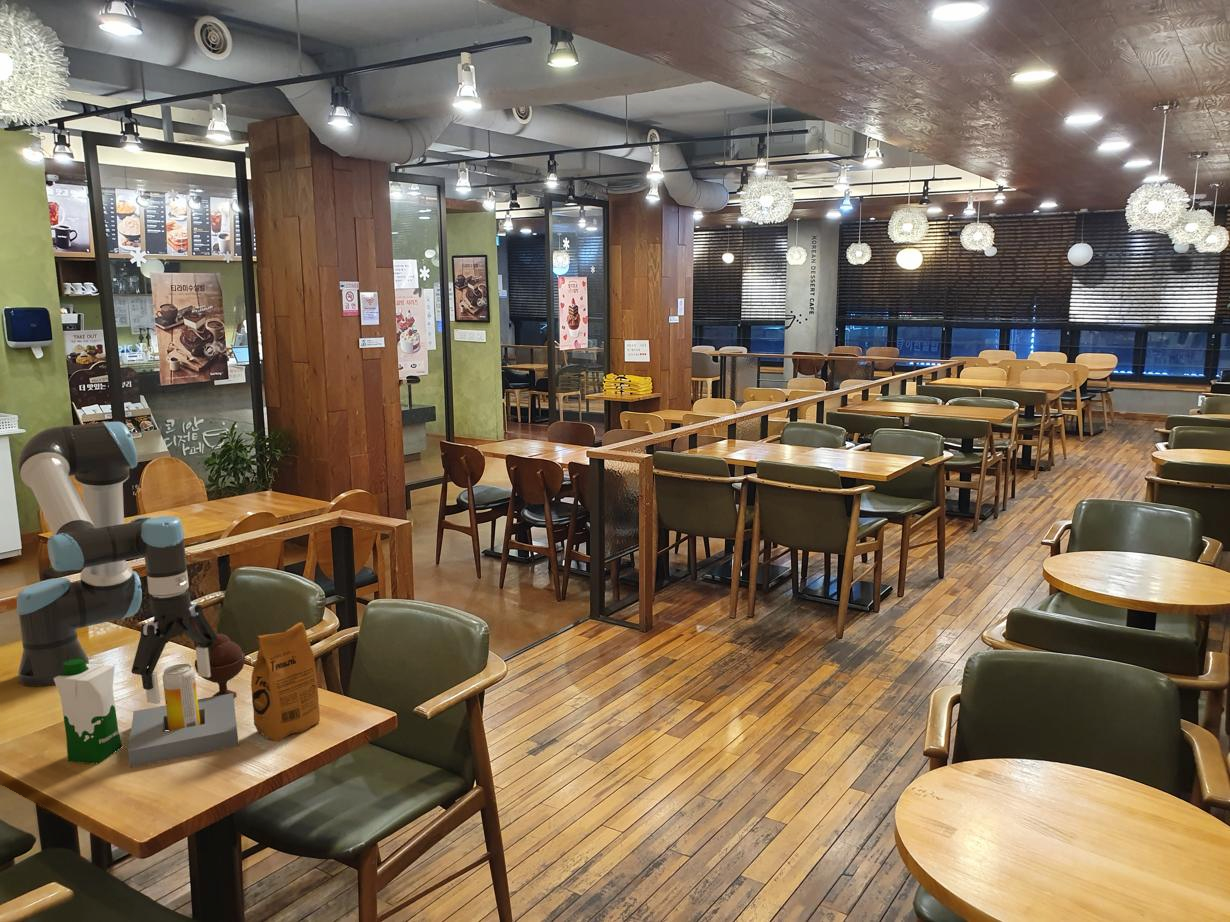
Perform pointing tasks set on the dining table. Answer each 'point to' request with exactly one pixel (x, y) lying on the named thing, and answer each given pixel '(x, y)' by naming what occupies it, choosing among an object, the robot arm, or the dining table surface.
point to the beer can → (181, 696)
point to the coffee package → (284, 684)
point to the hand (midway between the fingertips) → (180, 689)
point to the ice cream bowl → (224, 663)
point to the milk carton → (88, 710)
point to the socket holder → (182, 732)
